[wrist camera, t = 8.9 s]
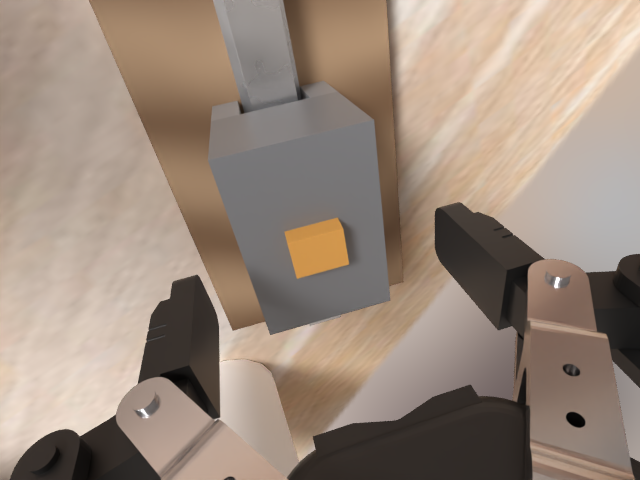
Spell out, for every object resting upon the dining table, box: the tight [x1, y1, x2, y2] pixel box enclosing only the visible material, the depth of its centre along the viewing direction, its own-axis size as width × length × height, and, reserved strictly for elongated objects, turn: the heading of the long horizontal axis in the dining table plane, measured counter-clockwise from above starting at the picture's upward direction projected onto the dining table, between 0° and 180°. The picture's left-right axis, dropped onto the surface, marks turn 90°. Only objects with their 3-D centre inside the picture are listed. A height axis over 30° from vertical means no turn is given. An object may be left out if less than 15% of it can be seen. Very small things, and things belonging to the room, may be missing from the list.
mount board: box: [89, 0, 403, 330], centre depth 19 cm, size 26×12×1 cm, turn 10°
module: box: [208, 81, 390, 335], centre depth 17 cm, size 8×5×8 cm
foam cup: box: [214, 359, 299, 478], centre depth 25 cm, size 10×9×13 cm
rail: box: [213, 0, 341, 326], centre depth 18 cm, size 25×3×2 cm, turn 10°
